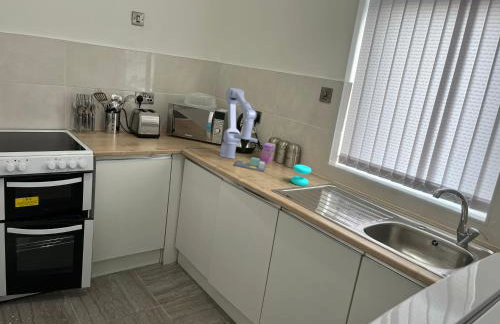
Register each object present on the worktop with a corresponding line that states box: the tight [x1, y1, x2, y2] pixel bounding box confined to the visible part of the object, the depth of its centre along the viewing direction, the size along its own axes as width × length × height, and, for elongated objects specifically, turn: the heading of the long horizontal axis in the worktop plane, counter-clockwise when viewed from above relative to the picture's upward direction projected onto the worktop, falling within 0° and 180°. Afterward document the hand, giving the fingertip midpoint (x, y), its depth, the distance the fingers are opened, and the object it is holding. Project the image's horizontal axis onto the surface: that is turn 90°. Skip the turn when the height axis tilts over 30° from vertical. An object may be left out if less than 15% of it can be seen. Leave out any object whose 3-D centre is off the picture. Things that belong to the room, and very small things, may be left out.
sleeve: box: [249, 156, 261, 166], centre depth 231 cm, size 5×5×4 cm
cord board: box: [234, 160, 267, 173], centre depth 232 cm, size 18×12×4 cm, turn 83°
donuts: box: [290, 164, 312, 187], centre depth 214 cm, size 10×10×10 cm
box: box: [259, 142, 276, 165], centre depth 253 cm, size 10×6×12 cm, turn 161°
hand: (242, 151), depth 231 cm, fingers closed
